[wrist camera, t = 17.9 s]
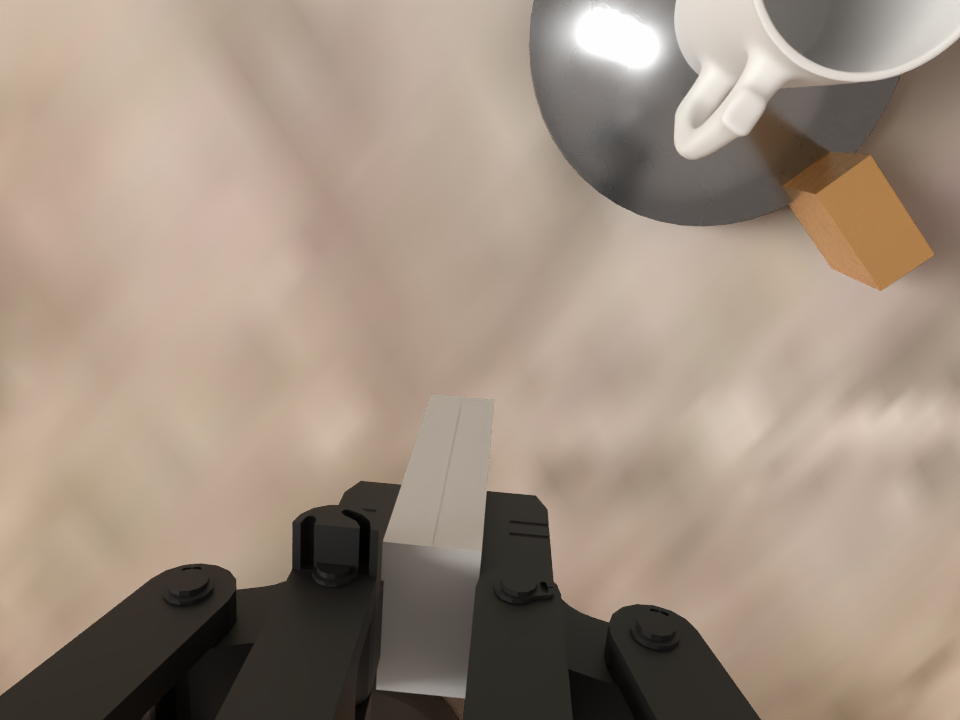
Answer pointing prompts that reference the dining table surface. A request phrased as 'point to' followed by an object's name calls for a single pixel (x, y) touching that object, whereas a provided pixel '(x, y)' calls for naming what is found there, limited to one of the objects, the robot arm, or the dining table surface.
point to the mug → (793, 54)
